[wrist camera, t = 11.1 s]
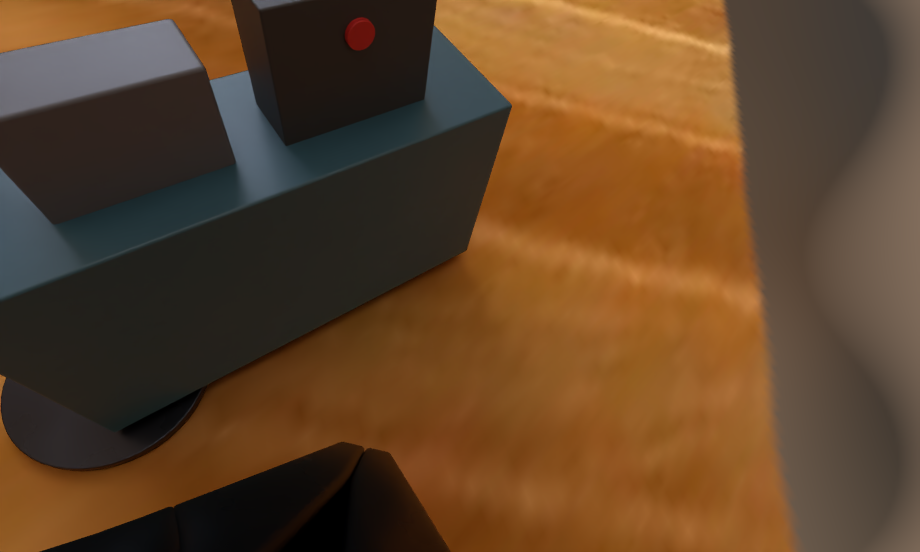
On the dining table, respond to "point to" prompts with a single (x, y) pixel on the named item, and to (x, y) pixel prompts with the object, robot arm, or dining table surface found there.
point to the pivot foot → (84, 430)
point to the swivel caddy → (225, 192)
